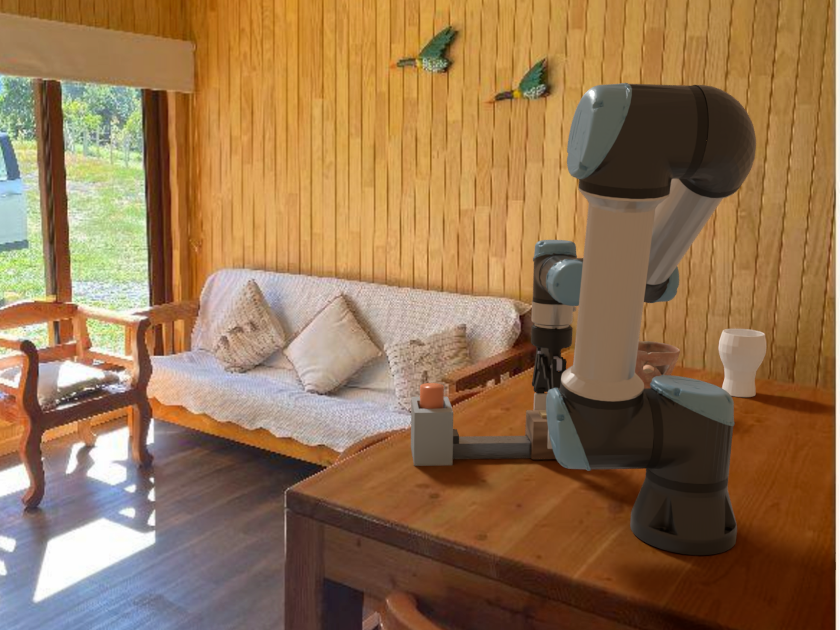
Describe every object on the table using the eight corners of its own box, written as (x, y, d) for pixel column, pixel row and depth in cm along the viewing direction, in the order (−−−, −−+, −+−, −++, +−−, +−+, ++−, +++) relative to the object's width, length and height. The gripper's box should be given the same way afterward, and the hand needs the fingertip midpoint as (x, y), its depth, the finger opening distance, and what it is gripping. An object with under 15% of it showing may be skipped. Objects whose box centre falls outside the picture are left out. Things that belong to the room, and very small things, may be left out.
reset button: (444, 420, 150) (445, 389, 149) (420, 421, 150) (420, 389, 149) (442, 413, 155) (442, 382, 153) (418, 413, 154) (419, 383, 153)
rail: (577, 457, 154) (578, 434, 153) (450, 459, 152) (451, 436, 151) (572, 450, 157) (573, 427, 157) (448, 451, 156) (448, 429, 155)
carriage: (569, 458, 152) (571, 418, 150) (532, 459, 151) (533, 418, 150) (560, 446, 159) (562, 406, 157) (524, 446, 158) (526, 407, 157)
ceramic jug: (679, 421, 176) (684, 356, 173) (610, 413, 180) (614, 350, 178) (681, 400, 193) (686, 341, 190) (618, 393, 197) (622, 336, 195)
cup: (709, 386, 204) (714, 327, 201) (752, 387, 203) (757, 328, 200) (723, 398, 193) (728, 336, 190) (768, 399, 193) (774, 337, 190)
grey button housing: (452, 465, 149) (453, 412, 147) (413, 465, 148) (414, 412, 147) (446, 446, 159) (447, 396, 157) (410, 446, 158) (411, 397, 156)
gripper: (590, 338, 139) (583, 459, 143) (556, 312, 163) (552, 416, 167) (546, 338, 138) (541, 459, 142) (519, 312, 162) (515, 416, 166)
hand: (547, 436), depth 155 cm, fingers open, 12 cm apart
